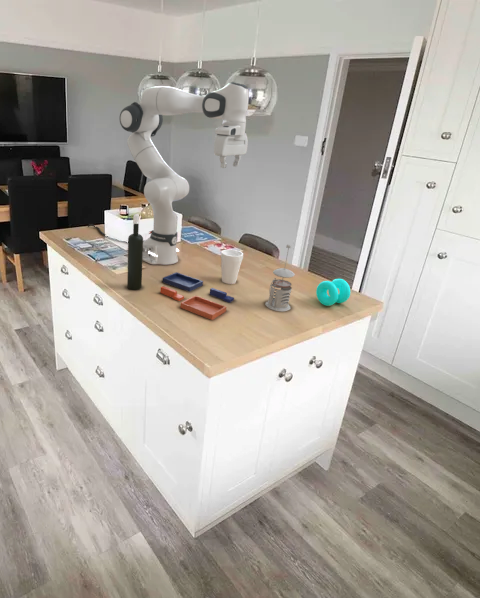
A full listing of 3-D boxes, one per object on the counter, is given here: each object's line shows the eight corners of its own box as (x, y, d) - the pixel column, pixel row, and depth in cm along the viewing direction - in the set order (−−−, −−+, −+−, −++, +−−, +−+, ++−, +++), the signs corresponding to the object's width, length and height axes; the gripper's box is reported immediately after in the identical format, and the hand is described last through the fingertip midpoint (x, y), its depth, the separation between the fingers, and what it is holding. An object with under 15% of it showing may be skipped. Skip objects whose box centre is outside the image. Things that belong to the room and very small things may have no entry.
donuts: (348, 306, 167) (354, 283, 163) (331, 310, 163) (337, 286, 159) (329, 296, 175) (334, 274, 171) (312, 300, 170) (317, 277, 166)
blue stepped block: (208, 295, 168) (208, 289, 167) (212, 293, 170) (213, 287, 169) (229, 302, 162) (230, 296, 161) (233, 300, 165) (234, 294, 164)
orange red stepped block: (159, 293, 166) (159, 287, 165) (164, 291, 168) (164, 285, 167) (179, 301, 161) (179, 295, 159) (183, 298, 163) (184, 292, 162)
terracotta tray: (180, 307, 155) (180, 302, 155) (194, 299, 163) (195, 295, 162) (212, 320, 148) (212, 315, 147) (226, 311, 155) (226, 306, 154)
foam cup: (238, 286, 178) (242, 257, 173) (217, 283, 180) (220, 254, 174) (240, 278, 187) (244, 251, 181) (219, 275, 188) (222, 248, 183)
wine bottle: (131, 291, 166) (133, 216, 153) (124, 286, 170) (126, 213, 158) (144, 288, 169) (146, 215, 156) (137, 283, 173) (139, 212, 161)
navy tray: (162, 282, 177) (162, 277, 176) (176, 276, 184) (176, 272, 183) (189, 291, 169) (189, 287, 169) (202, 285, 177) (203, 281, 176)
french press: (295, 306, 163) (308, 245, 153) (278, 315, 156) (290, 251, 145) (274, 298, 169) (285, 239, 159) (257, 305, 162) (267, 243, 151)
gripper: (239, 129, 170) (235, 164, 176) (212, 129, 155) (209, 167, 161) (253, 130, 167) (248, 166, 173) (227, 130, 152) (223, 169, 157)
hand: (229, 167), depth 166 cm, fingers open, 8 cm apart
